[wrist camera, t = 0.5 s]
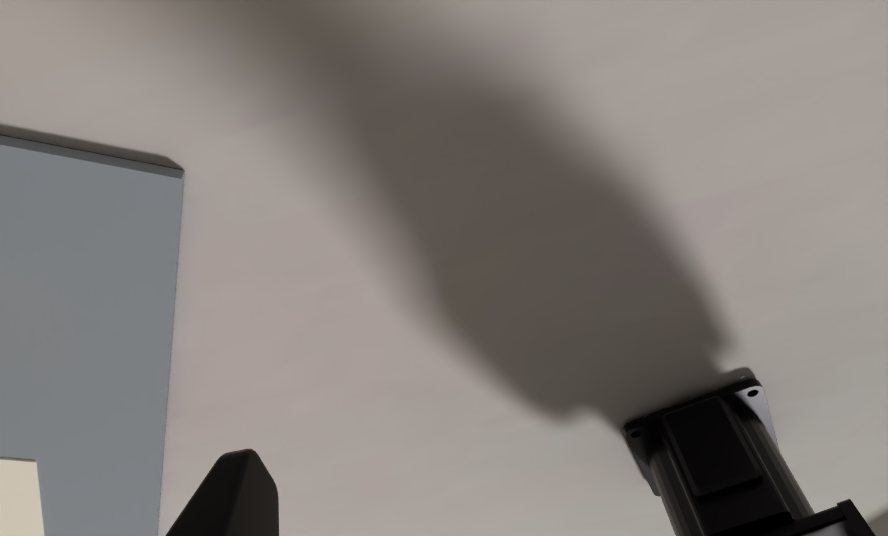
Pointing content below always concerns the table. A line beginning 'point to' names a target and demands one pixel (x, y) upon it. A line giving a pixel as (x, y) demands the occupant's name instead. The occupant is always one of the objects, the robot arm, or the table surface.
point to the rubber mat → (84, 339)
